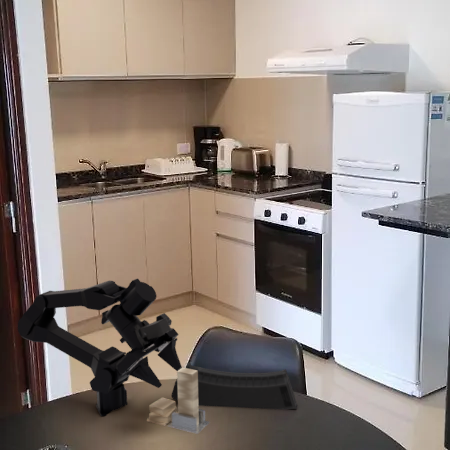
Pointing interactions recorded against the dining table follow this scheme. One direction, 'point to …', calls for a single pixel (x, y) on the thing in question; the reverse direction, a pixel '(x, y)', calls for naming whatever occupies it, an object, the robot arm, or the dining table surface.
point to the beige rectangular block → (188, 392)
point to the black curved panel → (243, 389)
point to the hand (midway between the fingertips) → (171, 378)
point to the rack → (189, 422)
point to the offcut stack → (162, 411)
